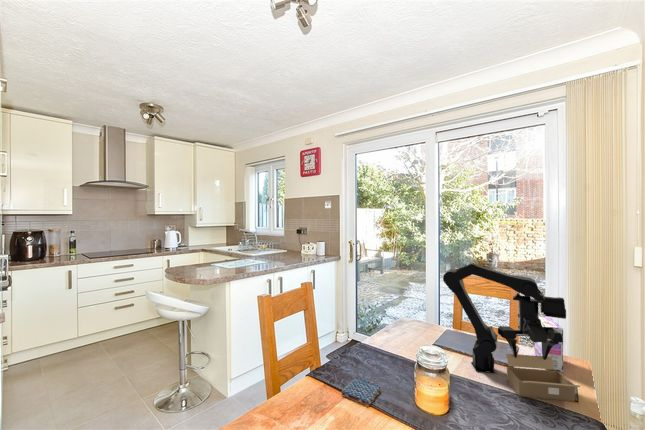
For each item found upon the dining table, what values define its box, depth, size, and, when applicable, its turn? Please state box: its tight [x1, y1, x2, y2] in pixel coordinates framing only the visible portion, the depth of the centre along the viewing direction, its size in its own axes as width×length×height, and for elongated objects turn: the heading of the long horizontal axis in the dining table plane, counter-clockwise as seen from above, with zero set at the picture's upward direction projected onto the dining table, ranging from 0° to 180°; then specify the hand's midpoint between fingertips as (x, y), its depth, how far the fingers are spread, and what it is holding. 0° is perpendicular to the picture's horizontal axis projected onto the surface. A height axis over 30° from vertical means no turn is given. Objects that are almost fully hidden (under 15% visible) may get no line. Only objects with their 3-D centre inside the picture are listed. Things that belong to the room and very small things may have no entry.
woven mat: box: [341, 377, 382, 407], centre depth 99 cm, size 10×11×2 cm
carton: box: [506, 366, 576, 403], centre depth 100 cm, size 16×9×5 cm, turn 80°
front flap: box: [522, 381, 581, 388], centre depth 93 cm, size 14×4×1 cm
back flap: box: [505, 353, 555, 371], centre depth 106 cm, size 14×4×1 cm
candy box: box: [534, 315, 564, 373], centre depth 118 cm, size 14×6×16 cm, turn 159°
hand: (529, 358), depth 106 cm, fingers open, 9 cm apart
